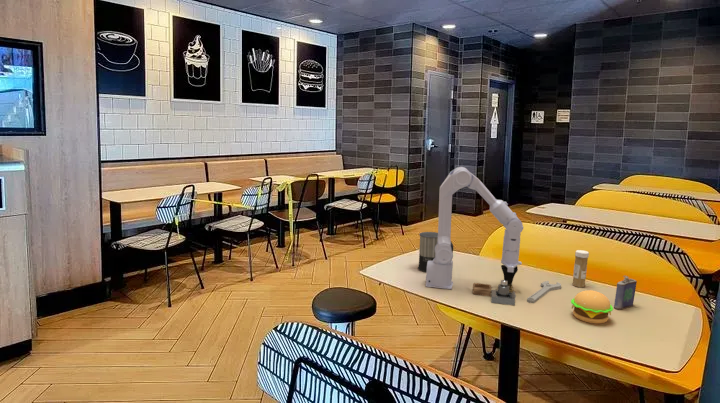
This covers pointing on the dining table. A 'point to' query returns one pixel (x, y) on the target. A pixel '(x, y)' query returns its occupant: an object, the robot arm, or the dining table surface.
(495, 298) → the socket block
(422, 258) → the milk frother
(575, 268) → the sprinkles bottle
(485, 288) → the brown square tray
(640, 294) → the dining table surface
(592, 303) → the hamburger
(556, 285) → the adjustable wrench
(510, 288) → the bar
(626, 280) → the flask
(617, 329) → the dining table surface
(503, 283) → the grey knob
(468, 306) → the dining table surface
